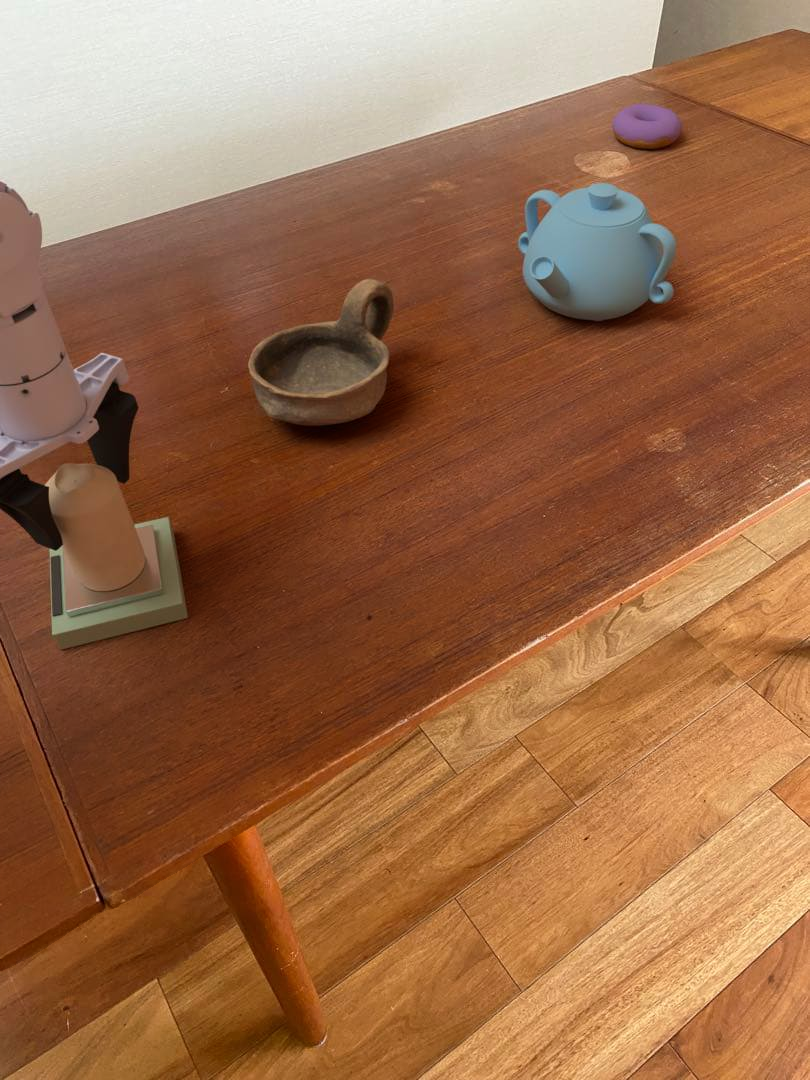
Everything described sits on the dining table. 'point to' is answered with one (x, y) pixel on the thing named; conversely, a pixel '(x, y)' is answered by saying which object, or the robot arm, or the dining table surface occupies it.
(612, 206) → the teapot
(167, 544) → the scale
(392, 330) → the dining table surface
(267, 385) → the bowl
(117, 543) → the candle
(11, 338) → the robot arm
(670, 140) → the donut
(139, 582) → the thin square metal plate
